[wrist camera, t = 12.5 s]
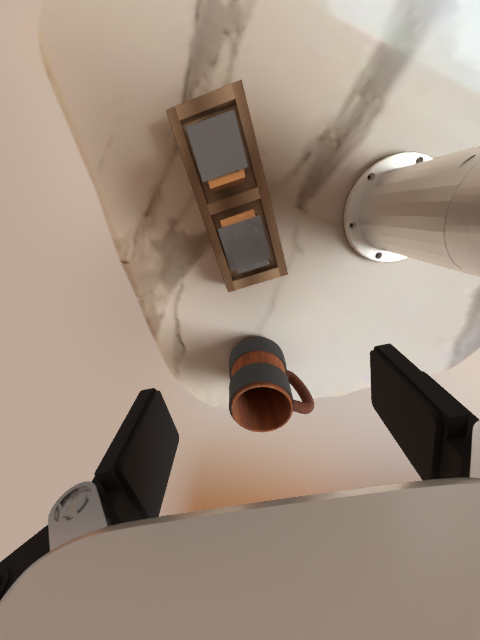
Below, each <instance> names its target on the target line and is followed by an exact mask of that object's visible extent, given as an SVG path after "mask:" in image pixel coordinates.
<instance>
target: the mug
mask: <svg viewBox="0 0 480 640" xmlns="http://www.w3.org/2000/svg"><path fill="white" fill-rule="evenodd" d="M229 371H230V380H231V381H230V385H229V410H230V414H231V416H232V417H233V419H234V420H235V421H236V422H237V423H238V424H239V425H240V426H242V427H243V428H245V429H248V430H251V431H255V432H268V431H273V430H276V429H278V428H279V427H282V426H283V425H284V424H286V423H287V422H288V420H289V419H290V417H291V415H292V412H293V411H295V412H298V413H302V414H308V413H310V412H311V411H312V410H313V409H314V401H313V398H312V396H311V394H310V392H309V390H308V389H307V387H306V386H305V385H304V383H303V382H302V381H301V380H300V379H299V378H298V377H297V376H296V375H295V374H294V373H292V372H290V371H288V370H286V363H285V359H284V355H283V353H282V350H281V349H280V347H279V346H278V345H277V344H276V343H275V342H273V341H272V340H269V339H267V338H263V337H252V338H248V339H245V340H243V341H241V342H240V343H238V344H237V345H236V346H235V348H234V349H233V351H232V353H231V355H230V362H229ZM289 383H290V384H291V385H292V386H293V387H294V389H295V390H296V391H297V393H298V394H299V396H300V398H301V400H302V402H300V401H296V400H293V397H292V393H291V389H290V384H289Z"/></svg>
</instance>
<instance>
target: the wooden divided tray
mask: <svg viewBox="0 0 480 640" xmlns="http://www.w3.org/2000/svg"><path fill="white" fill-rule="evenodd" d="M233 109H234V111H235V115H236V119H237V123H238V127H239V131H240V135H241V139H242V143H243V147H244V152H245V156H246V160H247V164H248V171H247V177H246V179H245V182H243V183H240V184H237V185H234V186H231V187H228V188H225V189H222V190H219V191H216V192H214V191H212V190H211V189H210V187H208V186H207V185H206V184H204V183H203V181H202V178H201V175H200V172H199V168H198V165H197V162H196V159H195V156H194V152H193V149H192V146H191V143H190V140H189V136H188V133H187V130H186V127H188V126H190V125H193V124H196V123H199V122H201V121H204V120H207V119H209V118H212V117H215V116H217V115H220V114H223V113H225V112H228V111H231V110H233ZM166 112H167V115H168V118H169V121H170V124H171V127H172V130H173V133H174V136H175V139H176V142H177V145H178V148H179V150H180V153H181V156H182V159H183V162H184V165H185V168H186V171H187V174H188V177H189V180H190V183H191V185H192V188H193V191H194V194H195V197H196V200H197V203H198V206H199V209H200V212H201V215H202V218H203V220H204V223H205V226H206V229H207V232H208V235H209V238H210V241H211V244H212V247H213V250H214V253H215V255H216V258H217V261H218V264H219V267H220V270H221V273H222V276H223V279H224V282H225V285H226V288H227V290H228V292H231V291H234V290H237V289H241V288H244V287H247V286H251V285H254V284H257V283H260V282H264V281H267V280H270V279H274V278H277V277H280V276H284V275H287V274H288V272H287V268H286V264H285V260H284V255H283V251H282V247H281V243H280V239H279V235H278V230H277V226H276V222H275V218H274V214H273V209H272V205H271V201H270V197H269V193H268V189H267V184H266V180H265V176H264V172H263V168H262V164H261V159H260V155H259V151H258V147H257V143H256V138H255V134H254V130H253V126H252V122H251V118H250V113H249V109H248V105H247V101H246V97H245V93H244V88H243V84H242V80H240V81H237V82H235V83H232V84H230V85H227V86H225V87H222V88H220V89H217V90H215V91H212V92H210V93H207V94H205V95H202V96H200V97H197V98H195V99H192V100H190V101H187V102H185V103H182V104H180V105H177V106H175V107H172V108H170V109H167V110H166ZM252 209H254V212H255V214H258V215H260V216H261V220H262V224H263V228H264V232H265V235H266V239H267V243H268V247H269V251H270V255H271V259H268V262H269V265H266V266H263V267H260V268H256V269H253V270H250V271H247V272H243V273H240V274H238V272H237V269H236V270H233V271H231V269H230V265H229V262H228V259H227V256H226V253H225V250H224V247H223V244H222V241H221V238H220V235H219V232H218V228H220V227H221V226H222V225H221V222H220V220H223V219H225V218H228V217H231V216H234V215H237V214H240V213H243V212H246V211H249V210H252Z"/></svg>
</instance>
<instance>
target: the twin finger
mask: <svg viewBox="0 0 480 640" xmlns="http://www.w3.org/2000/svg"><path fill="white" fill-rule="evenodd" d="M220 222H221V225H222V226H221V227H220V228H218V232H219V235H220V238H221V241H222V244H223V247H224V250H225V253H226V256H227V259H228V262H229V265H230V269H231V271H233V270H236V269H237V272H238V274H240V273H243V272H247V271H250V270H253V269H256V268H260V267H263V266H266V265H269V262H268V259H271V255H270V251H269V247H268V243H267V239H266V235H265V232H264V228H263V224H262V220H261V216H260V215H258V214H255V212H254V209H252V210H249V211H246V212H243V213H240V214H237V215H234V216H231V217H228V218H225V219H223V220H220Z"/></svg>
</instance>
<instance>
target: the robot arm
mask: <svg viewBox="0 0 480 640" xmlns="http://www.w3.org/2000/svg"><path fill="white" fill-rule="evenodd" d="M416 161H417V162H416ZM368 176H369V177H370V178H369V180H368V179H367V177H368ZM343 220H344V230H345V233H346V237H347V239H348V241H349V243H350V245H351V246H352V247H353V248H354V250H355V251H356V252H357V253H359V254H360V255H362V256H363V257H365V258H368V259H370V260H373V261H376V262H386V263H387V262H396V261H399V260H403V259H406V258H408V257H409V258H413V259H417V260H420V261H424V262H428V263H431V264H435V265H438V266H442V267H446V268H449V269H453V270H456V271H460V272H464V273H468V274H472V275H476V276H480V146H478V147H475V148H471V149H467V150H464V151H460V152H456V153H453V154H449V155H445V156H441V157H438V158H432V157H430V156H428V155H426V154H424V153H419V152H402V153H397V154H393V155H391V156H388V157H386V158H384V159H382V160H380V161H378V162H376V163H375V164H373V165H372V166H371V167H370V168H369V169H367V170H366V171H365V172H364V173H363V174H362V175H361V177H360V178H359V179H358V180H357V182H356V183H355V185H354V186H353V188H352V189H351V192H350V194H349V196H348V198H347V202H346V205H345V209H344V219H343ZM350 223H352V226H351V227H349V226H350ZM376 253H377V255H376ZM375 255H376V256H375ZM370 366H371V399H372V404H373V407H374V409H375V410H376V412H377V413H378V415H379V416H380V418H381V419H382V421H383V422H384V424H385V425H386V427H387V428H388V430H389V431H390V433H391V434H392V436H393V437H394V439H395V440H396V442H397V443H398V445H399V446H400V448H401V449H402V450H403V452H404V453H405V455H406V456H407V458H408V459H409V461H410V462H411V464H412V465H413V467H414V468H415V469H416V471H417V473H418V474H419V476H420V477H421V479H422V480H423V481H416V482H408V483H398V484H390V485H382V486H374V487H367V488H360V489H352V490H344V491H337V492H329V493H322V494H314V495H307V496H300V497H293V498H286V499H278V500H271V501H264V502H257V503H250V504H243V505H236V506H229V507H222V508H215V509H208V510H202V511H195V512H188V513H181V514H174V515H167V516H161V517H158V516H159V513H160V509H161V505H162V502H163V498H164V494H165V490H166V487H167V483H168V479H169V476H170V471H171V468H172V464H173V461H174V457H175V453H176V450H177V446H178V442H179V434H178V432H177V429H176V427H175V425H174V422H173V420H172V418H171V415H170V413H169V411H168V409H167V406H166V404H165V402H164V399H163V397H162V395H161V393H160V391H157V390H156V389H155V388H152V389H147V390H142V391H140V393H139V395H138V396H137V398H136V400H135V402H134V404H133V405H132V407H131V409H130V411H129V413H128V415H127V416H126V418H125V420H124V421H123V423H122V425H121V427H120V429H119V430H118V432H117V434H116V436H115V438H114V439H113V441H112V443H111V445H110V447H109V448H108V450H107V452H106V454H105V456H104V457H103V459H102V461H101V463H100V465H99V466H98V468H97V470H96V472H95V477H94V479H93V480H92V482H82V483H79V484H77V485H75V486H74V487H72V488H70V489H69V490H68V491H66V492H65V493H64V494H63V495H62V496H61V497H60V498H59V499H58V500H57V501H56V503H55V504H54V506H53V507H52V509H51V511H50V514H49V519H48V525H47V526H46V527H44V528H43V529H42V530H41V531H39V532H38V533H37V534H35V535H34V536H33V537H32V538H30V539H29V540H28V541H27V542H25V543H24V544H23V545H21V546H20V547H19V548H18V549H16V550H15V551H14V552H13V553H11V554H10V555H9V556H8V557H6V558H5V559H4V560H2V561H1V562H0V640H480V420H479V419H478V418H477V417H476V416H475V415H473V414H472V413H471V412H470V411H469V410H468V409H466V408H465V407H464V406H463V405H462V404H461V403H460V402H459V401H457V400H456V399H455V398H454V397H453V396H452V395H451V394H449V393H448V392H447V391H446V390H445V389H444V388H442V387H441V386H440V385H439V384H438V383H437V382H436V381H435V380H433V379H432V378H431V377H430V376H429V375H428V374H426V373H425V372H423V371H421V370H419V369H418V368H417V367H416V366H415V365H414V364H413V363H412V362H410V361H409V360H408V359H407V358H406V357H405V356H404V355H403V354H401V353H400V352H399V351H398V350H397V349H396V348H395V347H394V346H392V345H391V344H385V345H379V346H375V347H374V350H372V351H371V352H370Z"/></svg>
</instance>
